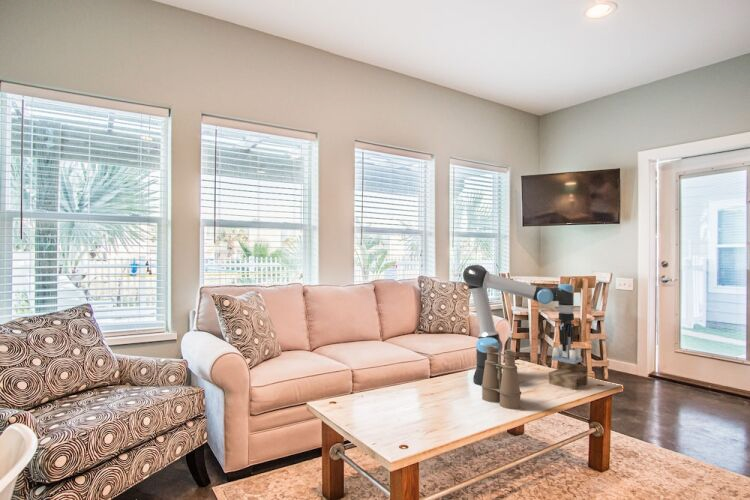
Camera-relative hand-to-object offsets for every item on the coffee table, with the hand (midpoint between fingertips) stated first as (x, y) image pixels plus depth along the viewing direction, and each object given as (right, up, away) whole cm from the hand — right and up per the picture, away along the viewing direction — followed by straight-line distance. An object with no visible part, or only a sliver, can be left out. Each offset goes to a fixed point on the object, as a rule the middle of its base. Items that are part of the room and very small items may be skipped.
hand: (566, 356), depth 225 cm
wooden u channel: (+1, -15, +1) cm, 15 cm away
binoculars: (-44, -15, -28) cm, 54 cm away
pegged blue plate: (0, -2, 0) cm, 2 cm away
